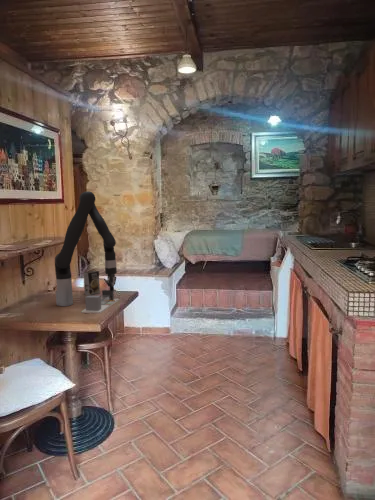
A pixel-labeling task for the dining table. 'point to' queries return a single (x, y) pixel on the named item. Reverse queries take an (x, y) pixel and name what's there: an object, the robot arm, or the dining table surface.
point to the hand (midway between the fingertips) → (112, 292)
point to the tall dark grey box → (107, 296)
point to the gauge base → (103, 307)
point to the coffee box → (91, 282)
